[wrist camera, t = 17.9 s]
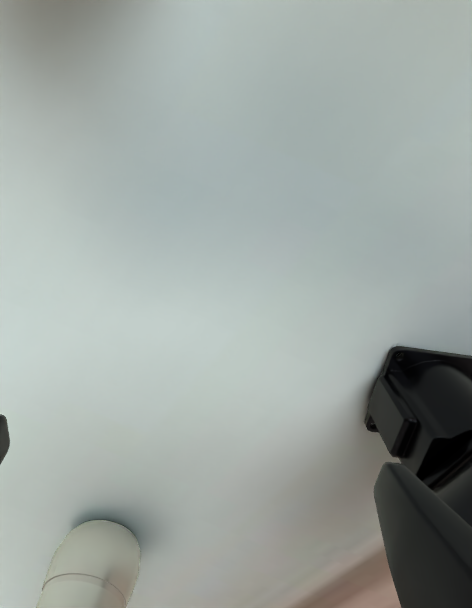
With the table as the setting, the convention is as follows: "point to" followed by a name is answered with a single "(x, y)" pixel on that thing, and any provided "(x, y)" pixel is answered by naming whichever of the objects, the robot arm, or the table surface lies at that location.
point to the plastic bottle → (92, 568)
